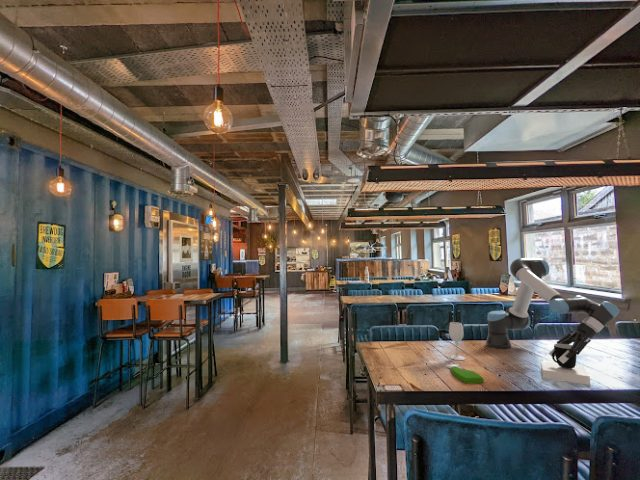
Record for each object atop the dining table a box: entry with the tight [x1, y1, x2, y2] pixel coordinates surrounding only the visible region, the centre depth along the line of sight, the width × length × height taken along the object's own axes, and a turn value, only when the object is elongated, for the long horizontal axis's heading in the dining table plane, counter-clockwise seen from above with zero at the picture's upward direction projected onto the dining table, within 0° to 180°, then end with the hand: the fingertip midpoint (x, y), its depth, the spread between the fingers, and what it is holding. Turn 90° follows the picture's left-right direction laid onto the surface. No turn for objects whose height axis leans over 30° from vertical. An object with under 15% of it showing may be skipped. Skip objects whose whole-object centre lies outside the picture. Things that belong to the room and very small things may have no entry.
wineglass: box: [448, 321, 466, 361], centre depth 192 cm, size 9×9×21 cm
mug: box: [551, 343, 577, 368], centre depth 159 cm, size 12×9×10 cm
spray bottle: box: [445, 363, 485, 384], centre depth 164 cm, size 3×11×24 cm
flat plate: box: [540, 360, 591, 386], centre depth 159 cm, size 18×16×4 cm
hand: (555, 358), depth 160 cm, fingers closed on mug, 9 cm apart
